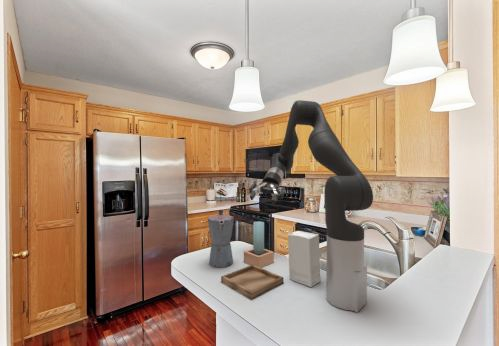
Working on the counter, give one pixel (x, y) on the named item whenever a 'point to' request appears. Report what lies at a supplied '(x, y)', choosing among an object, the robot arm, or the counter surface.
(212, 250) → the moka pot
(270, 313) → the counter surface
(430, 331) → the counter surface
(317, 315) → the counter surface
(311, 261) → the skincare box
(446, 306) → the counter surface
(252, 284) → the tray
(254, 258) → the square terracotta collar
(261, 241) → the dowel pin
